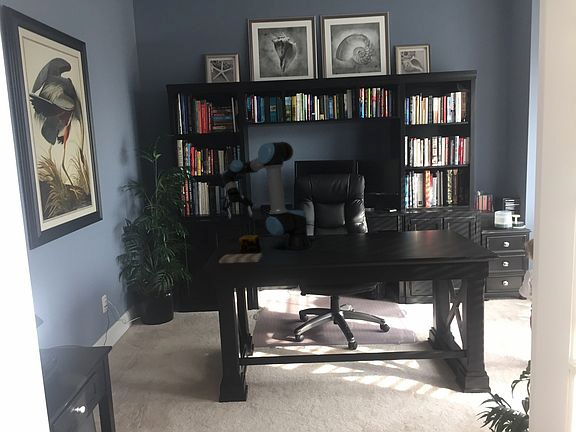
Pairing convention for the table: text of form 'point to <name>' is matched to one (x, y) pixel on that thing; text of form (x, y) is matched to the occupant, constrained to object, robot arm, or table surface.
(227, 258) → the birch board
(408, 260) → the table surface
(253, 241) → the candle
